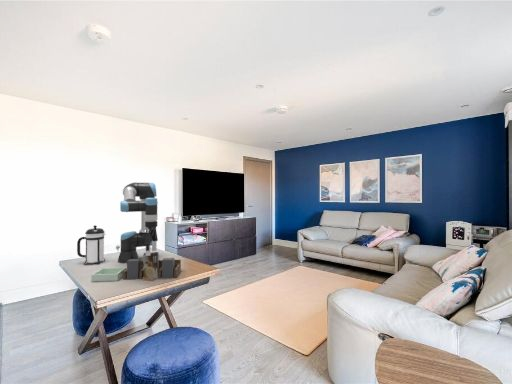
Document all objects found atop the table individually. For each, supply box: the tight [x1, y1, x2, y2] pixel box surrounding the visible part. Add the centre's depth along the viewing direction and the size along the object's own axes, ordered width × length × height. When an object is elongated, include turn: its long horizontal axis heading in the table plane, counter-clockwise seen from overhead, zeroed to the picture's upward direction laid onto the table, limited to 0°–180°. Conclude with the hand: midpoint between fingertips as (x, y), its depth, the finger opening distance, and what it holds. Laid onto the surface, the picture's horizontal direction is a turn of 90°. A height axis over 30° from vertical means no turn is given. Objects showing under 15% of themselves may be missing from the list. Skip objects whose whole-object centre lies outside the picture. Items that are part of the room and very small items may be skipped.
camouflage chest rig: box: [122, 259, 182, 282], centre depth 168 cm, size 19×34×8 cm, turn 97°
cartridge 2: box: [161, 257, 176, 279], centre depth 166 cm, size 5×7×12 cm
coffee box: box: [142, 251, 160, 280], centre depth 165 cm, size 9×6×16 cm
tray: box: [90, 267, 127, 283], centre depth 164 cm, size 14×16×4 cm
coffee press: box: [76, 224, 107, 266], centre depth 197 cm, size 17×16×30 cm
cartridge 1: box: [126, 258, 142, 281], centre depth 164 cm, size 5×7×12 cm
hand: (151, 253), depth 165 cm, fingers open, 13 cm apart
